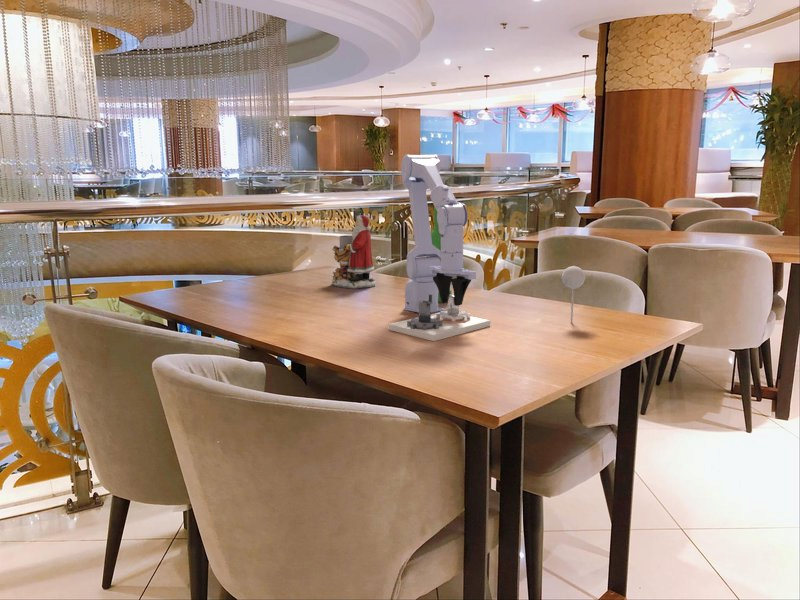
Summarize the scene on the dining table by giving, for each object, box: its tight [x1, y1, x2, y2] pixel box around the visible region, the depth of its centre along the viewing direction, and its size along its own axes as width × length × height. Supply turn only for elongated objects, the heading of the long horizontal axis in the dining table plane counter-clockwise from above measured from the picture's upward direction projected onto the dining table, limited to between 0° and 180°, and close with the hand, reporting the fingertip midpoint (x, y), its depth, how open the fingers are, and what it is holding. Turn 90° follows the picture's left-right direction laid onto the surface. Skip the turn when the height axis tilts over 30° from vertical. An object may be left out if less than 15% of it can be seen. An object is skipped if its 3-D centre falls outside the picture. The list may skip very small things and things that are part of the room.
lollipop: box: [560, 265, 587, 324], centre depth 169 cm, size 6×6×15 cm
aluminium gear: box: [435, 294, 471, 322], centre depth 169 cm, size 9×9×6 cm
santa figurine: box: [331, 214, 377, 290], centre depth 226 cm, size 17×14×25 cm
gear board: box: [388, 311, 491, 342], centre depth 166 cm, size 16×21×2 cm
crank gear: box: [407, 294, 442, 330], centre depth 162 cm, size 9×9×8 cm
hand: (451, 303), depth 168 cm, fingers open, 4 cm apart
